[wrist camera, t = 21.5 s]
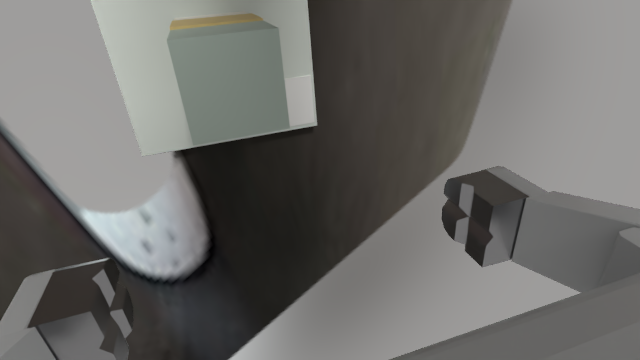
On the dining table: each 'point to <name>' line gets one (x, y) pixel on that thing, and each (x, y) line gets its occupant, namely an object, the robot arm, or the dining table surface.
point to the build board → (158, 73)
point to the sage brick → (230, 80)
